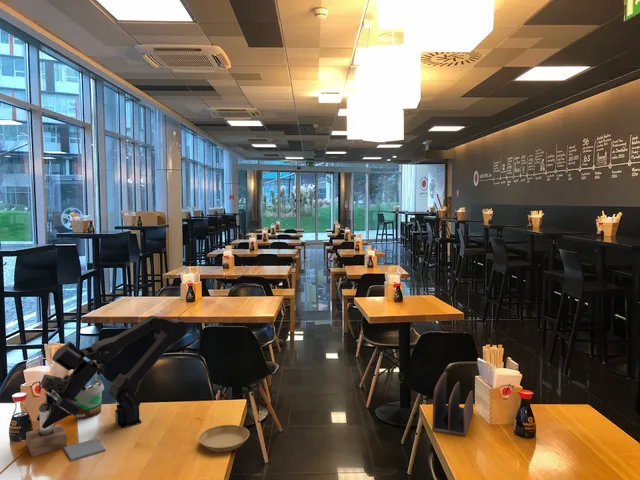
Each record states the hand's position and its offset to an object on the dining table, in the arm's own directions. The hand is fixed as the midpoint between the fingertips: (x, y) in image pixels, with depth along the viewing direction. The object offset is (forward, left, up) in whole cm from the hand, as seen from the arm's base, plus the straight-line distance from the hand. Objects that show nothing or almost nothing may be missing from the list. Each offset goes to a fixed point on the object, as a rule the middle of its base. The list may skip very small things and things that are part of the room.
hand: (40, 424), depth 145 cm
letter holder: (-107, +67, -7) cm, 126 cm away
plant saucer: (-43, +32, -8) cm, 54 cm away
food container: (-18, -16, -7) cm, 26 cm away
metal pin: (-1, 0, -7) cm, 7 cm away
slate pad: (-9, +10, -7) cm, 15 cm away
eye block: (-1, 0, -7) cm, 7 cm away
